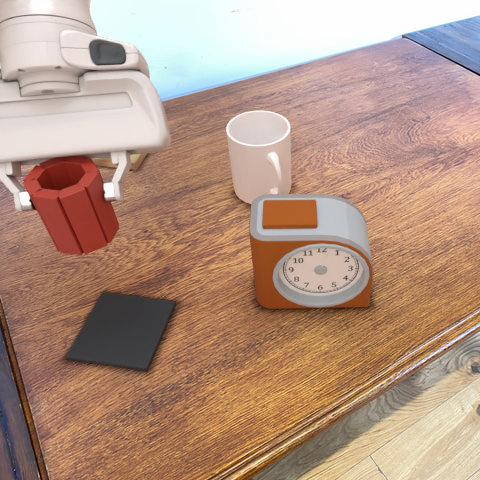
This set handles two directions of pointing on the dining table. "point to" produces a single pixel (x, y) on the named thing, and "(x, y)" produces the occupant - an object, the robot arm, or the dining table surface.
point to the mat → (122, 331)
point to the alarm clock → (309, 252)
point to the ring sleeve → (72, 204)
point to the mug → (259, 154)
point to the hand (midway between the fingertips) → (72, 206)
